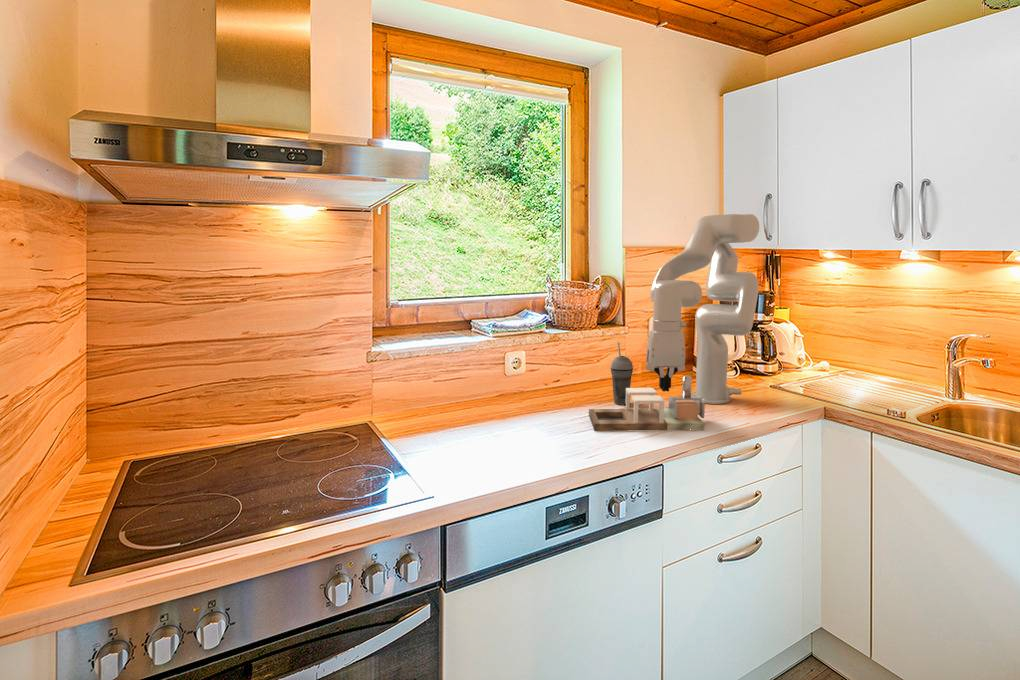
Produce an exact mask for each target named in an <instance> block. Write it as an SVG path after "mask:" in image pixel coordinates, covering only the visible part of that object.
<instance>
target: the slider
mask: <svg viewBox="0 0 1020 680" xmlns="http://www.w3.org/2000/svg"><path fill="white" fill-rule="evenodd" d="M692 379H693V377H692V376H691V375H683V376H682V392H681V395H682V396H668V409H669V412H670V414H671V415H672V416H673V417H674V418H677V402H676V401H675V400H695V402H696V403H697V404H698V417H700V419H705V407H706V403H705V402H703V401H702V398H701V397H698V396H695V397H691V394H692V384H693V383H692Z"/></svg>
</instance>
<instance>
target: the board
mask: <svg viewBox="0 0 1020 680" xmlns="http://www.w3.org/2000/svg"><path fill="white" fill-rule="evenodd" d="M588 417H589V419H590V423H591V426H592V429H593V430H594V431H598V432H599V431H600V432H601V431H602V432H603V431H604V432H606V431H607V432H609V431H610V432H613V431H616V432H617V431H619V432H621V431H622V432H623V431H627V432H628V430H659V431H705V422H703V420H701V418H699V417H698V418H697V419H676V418H674V417H673V416H672V415H671V414H670V412H669V408H664V423H659V408H653V410H649V408H638V423H634V408H630V410H626V408H588ZM690 429H691V430H690Z"/></svg>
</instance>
